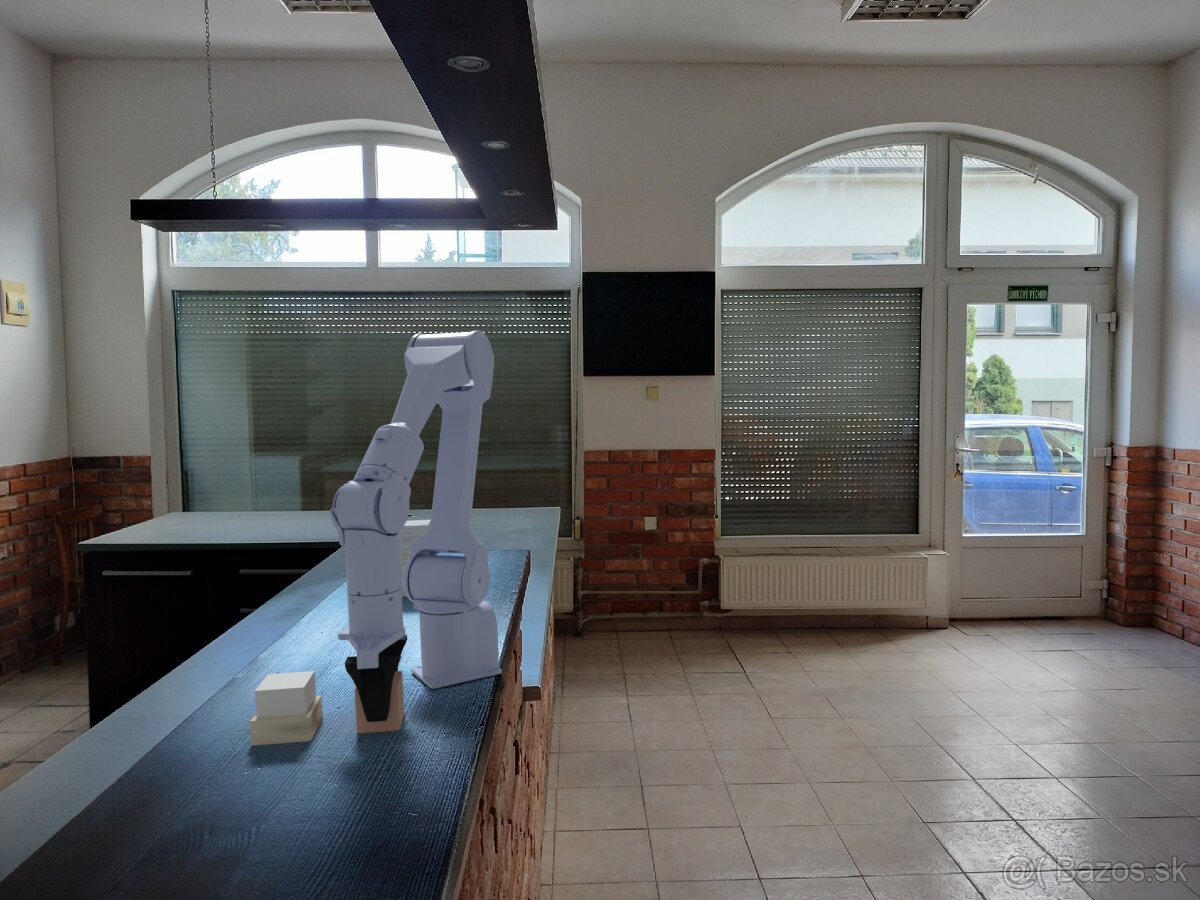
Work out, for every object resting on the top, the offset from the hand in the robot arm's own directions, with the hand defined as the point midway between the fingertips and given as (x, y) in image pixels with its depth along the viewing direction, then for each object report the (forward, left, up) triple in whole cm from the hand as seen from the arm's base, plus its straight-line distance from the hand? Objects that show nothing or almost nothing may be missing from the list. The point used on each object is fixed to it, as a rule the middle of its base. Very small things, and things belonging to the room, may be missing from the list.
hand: (380, 710), depth 89 cm
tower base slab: (+9, -4, -2) cm, 10 cm away
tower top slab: (+9, -4, +1) cm, 10 cm away
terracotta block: (0, 0, -1) cm, 1 cm away
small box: (-22, -55, -2) cm, 59 cm away
